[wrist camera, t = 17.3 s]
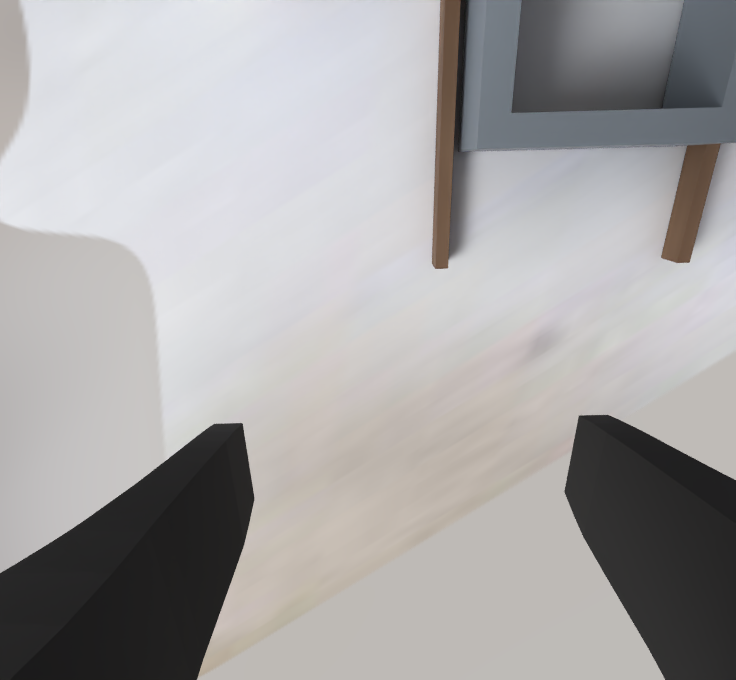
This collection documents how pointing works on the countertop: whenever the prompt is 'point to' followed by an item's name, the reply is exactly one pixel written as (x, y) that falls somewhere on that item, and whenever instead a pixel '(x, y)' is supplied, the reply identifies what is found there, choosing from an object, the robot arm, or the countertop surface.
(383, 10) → the countertop surface
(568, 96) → the countertop surface
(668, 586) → the robot arm
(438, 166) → the wall
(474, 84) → the socket block
